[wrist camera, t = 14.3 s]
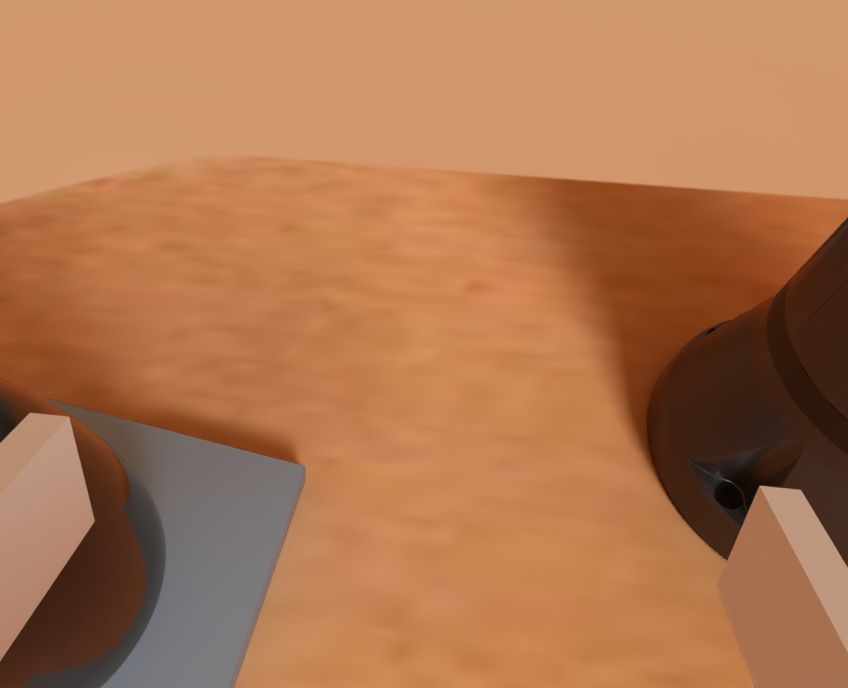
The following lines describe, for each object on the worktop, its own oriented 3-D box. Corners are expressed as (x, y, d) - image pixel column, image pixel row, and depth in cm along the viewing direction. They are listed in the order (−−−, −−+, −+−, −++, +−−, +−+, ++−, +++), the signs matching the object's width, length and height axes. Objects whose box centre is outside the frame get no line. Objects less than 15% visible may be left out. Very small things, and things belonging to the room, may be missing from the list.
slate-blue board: (-21, 394, 32) (-35, 377, 31) (305, 479, 32) (305, 465, 30) (-304, 790, 23) (-338, 788, 21) (156, 912, 22) (147, 918, 21)
